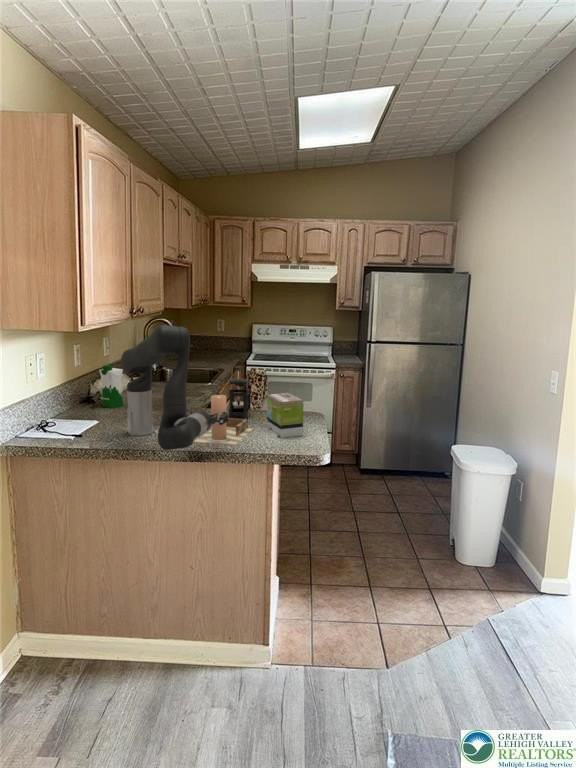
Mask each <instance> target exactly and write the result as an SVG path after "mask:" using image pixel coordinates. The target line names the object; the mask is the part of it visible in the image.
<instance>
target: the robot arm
mask: <svg viewBox="0 0 576 768" xmlns="http://www.w3.org/2000/svg"><path fill="white" fill-rule="evenodd" d="M190 335H191V334H190V331H189V330H188V328H187V327H183V326H177V325H170V324H159V325H158V326H156V327H155V328H154V330H153V331H152V332H151V334H149V336H147V337H146V338H144V339H143V340H142V341H140V342H139V343H138V344H136V345H135V346H134V347H132V348H128V349H126V350H124V352H122V355H121V358H120V365H121V367H122V368H121V369H123V371H124V372H125V373H126V374H140V375H139V376H138V377H137V378H136V379H133V380H131V381H129V382H128V383H127V384H126V393H127V394H126V395H127V408H126V420H127V421H126V422H127V433H128V435H130V436H139V437H141V436H147V435H151V434H153V433H154V422H153V395H152V394H153V393H152V388H153V387H152V386H153V385H152V381H153V380H152V379H153V377H152V375H153V373H152V372H153V366H154V365H157V364H159V363H160V362H161V361H163V359H164V358H165V357H166V355H169V356H171V355H172V356H177V361H176V366H175V369H174V370H173V372H172V374H171V376H170V377H169V379H168V380H167V382H166V383H165V386H164V388H163V390H164V391H163V390H162V405H163V406H162V407H163V409H162V416H161V420H160V425H159V428H158V432H157V442H158V445H159V447H160V448H161V449H162V450H164V451H172V450H177V449H185V448H186V449H187V448H188V447H190V446H192V445H193V443H194V441H195V440H196V439H197V438H199V437H201V436H202V435H204V434H205V433H207V432H208V431H210V430H211V425H212V424H216V423H219V425H223V424H224V423H226V422H228V416H229V413H227V411H226V412H222V413H221V414H217V413H213V414H211V413H208V412H206V411H204V410H202V409H201V410H197V411H195V412H193V411H189V412H188V413H187V379H188V371H189V360H190V349H191V336H190ZM214 416H215V417H214ZM219 416H220V417H219ZM181 418H183V420H182V421H181V422H179V423H178V424H175V422H176V421H177V420H179V419H181Z"/></svg>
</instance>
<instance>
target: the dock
mask: <svg viewBox="0 0 576 768" xmlns="http://www.w3.org/2000/svg"><path fill="white" fill-rule="evenodd" d="M248 419H249V418H248ZM248 419H235V418H228V422H227V438H226V439H224V440H213V439H212V429H211V428H210V429H209V430H208V431H206V432H205V433H203V434H202V435H200V436H198V437H197V438H196V439H194V441H193V443H200V444H201V443H203V444H204V443H205V444H213V445H214V444H215V445H229V446H236V445H237V444H238V443H239V442H240V441H241V440H242V439H243V438H245V437H246V436H247V435H249V433H250V432H252V430H254V429H255V427H249V420H248Z"/></svg>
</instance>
